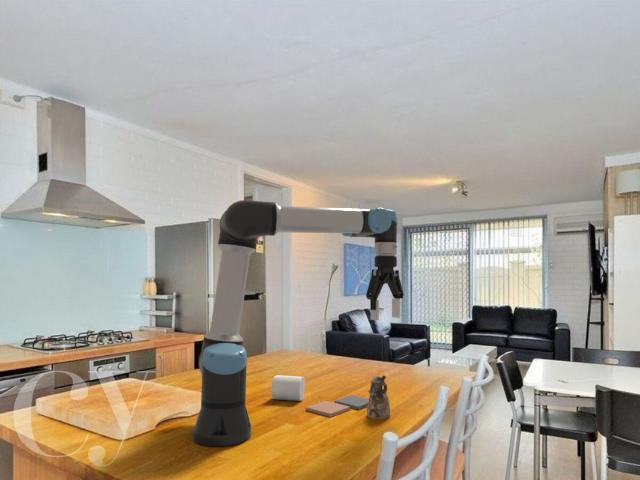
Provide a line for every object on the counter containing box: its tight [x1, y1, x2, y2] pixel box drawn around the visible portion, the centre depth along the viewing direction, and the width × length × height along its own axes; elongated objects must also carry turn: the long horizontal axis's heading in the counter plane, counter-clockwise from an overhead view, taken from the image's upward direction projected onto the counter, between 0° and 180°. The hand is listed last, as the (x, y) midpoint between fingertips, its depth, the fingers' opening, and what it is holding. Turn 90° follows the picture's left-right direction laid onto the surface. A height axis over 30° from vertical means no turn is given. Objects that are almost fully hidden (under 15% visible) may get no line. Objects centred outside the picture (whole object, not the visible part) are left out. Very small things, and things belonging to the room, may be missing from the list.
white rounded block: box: [270, 374, 306, 402], centre depth 156 cm, size 12×10×8 cm
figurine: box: [366, 375, 391, 420], centre depth 138 cm, size 7×7×12 cm
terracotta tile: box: [305, 400, 351, 418], centre depth 142 cm, size 10×10×1 cm
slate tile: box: [333, 394, 369, 411], centre depth 150 cm, size 10×10×1 cm
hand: (385, 318), depth 149 cm, fingers open, 13 cm apart
